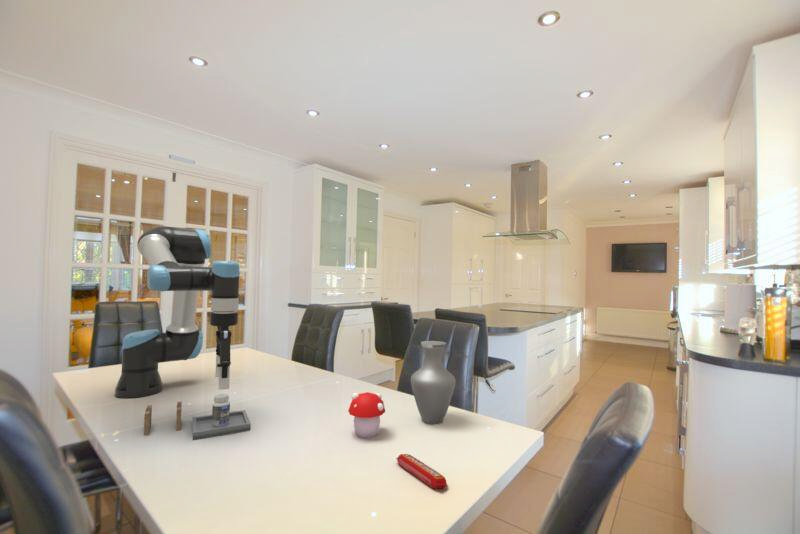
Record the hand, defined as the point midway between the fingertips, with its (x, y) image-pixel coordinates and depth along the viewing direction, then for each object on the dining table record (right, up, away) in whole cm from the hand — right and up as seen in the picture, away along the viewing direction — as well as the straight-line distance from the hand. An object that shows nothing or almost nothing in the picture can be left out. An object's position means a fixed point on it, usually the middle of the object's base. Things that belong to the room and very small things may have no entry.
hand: (221, 382), depth 115 cm
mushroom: (+44, -14, -4) cm, 46 cm away
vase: (+64, -15, +7) cm, 66 cm away
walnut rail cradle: (-16, -13, -2) cm, 21 cm away
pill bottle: (0, -12, -1) cm, 12 cm away
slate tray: (0, -13, -1) cm, 13 cm away
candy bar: (+58, -14, -27) cm, 66 cm away
